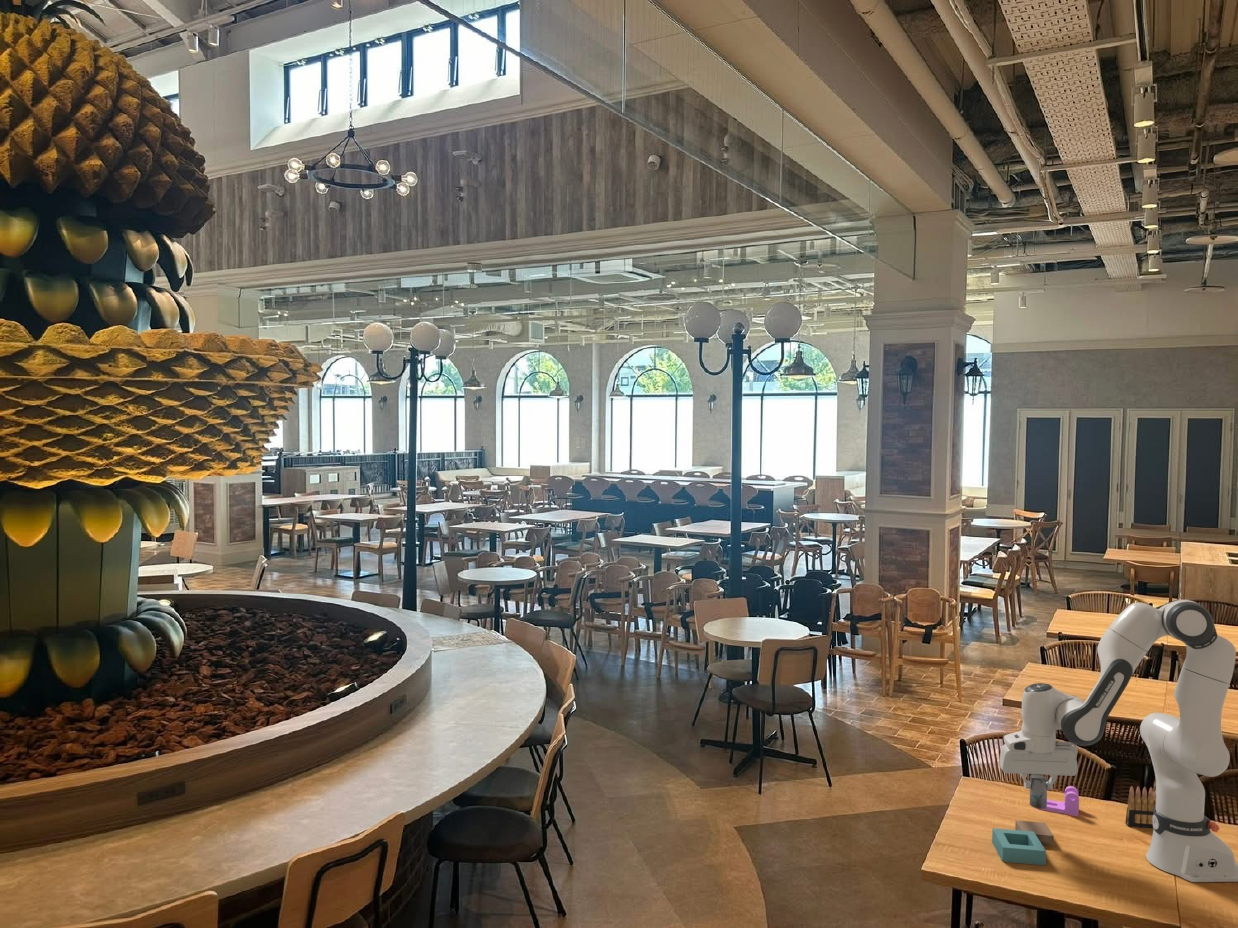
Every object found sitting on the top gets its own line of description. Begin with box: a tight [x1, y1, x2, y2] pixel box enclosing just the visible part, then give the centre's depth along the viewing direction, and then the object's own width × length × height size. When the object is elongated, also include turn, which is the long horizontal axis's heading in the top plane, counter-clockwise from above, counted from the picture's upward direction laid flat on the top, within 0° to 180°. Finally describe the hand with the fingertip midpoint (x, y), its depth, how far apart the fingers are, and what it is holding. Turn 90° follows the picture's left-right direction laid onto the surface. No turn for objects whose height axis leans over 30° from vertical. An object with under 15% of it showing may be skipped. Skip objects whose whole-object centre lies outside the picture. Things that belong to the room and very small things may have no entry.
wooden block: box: [1014, 820, 1055, 847], centre depth 252 cm, size 8×8×3 cm
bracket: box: [1036, 785, 1080, 817], centre depth 271 cm, size 13×6×7 cm, turn 64°
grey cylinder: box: [1029, 774, 1048, 810], centre depth 251 cm, size 4×4×8 cm
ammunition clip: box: [1125, 785, 1156, 829], centre depth 260 cm, size 11×2×12 cm, turn 82°
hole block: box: [991, 827, 1047, 866], centre depth 244 cm, size 11×11×4 cm
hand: (1038, 788), depth 251 cm, fingers closed on grey cylinder, 4 cm apart
